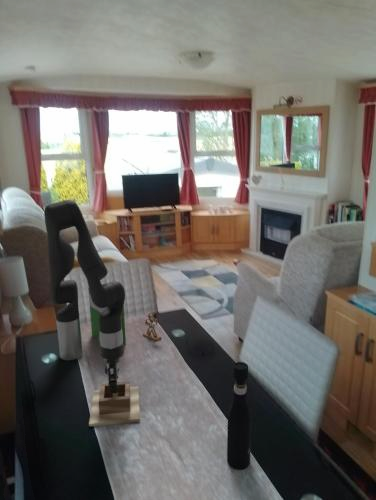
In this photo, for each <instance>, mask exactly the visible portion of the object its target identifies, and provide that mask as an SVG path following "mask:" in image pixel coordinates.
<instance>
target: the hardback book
mask: <svg viewBox="0 0 376 500" xmlns="http://www.w3.org/2000/svg"><path fill="white" fill-rule="evenodd" d="M101 284H102V285H103V284H104V283H101ZM87 289H88V299H89V300H88V301H89V312H90V323H91V326H90V327H91V336H92V337H94V338H95V339H96V340H97V341H99V342H100V339H99V334H100V328H99V315H100V314H101V313H102V312H103V311H104V310H105V309H106V308H107V307H105V308H99V307H97V306H96V305H95V304H94V303H93V301H92V299H91V295H90V290H89V287H88V288H87ZM125 322H126V321H125V305H124V306H123V310H122V314H121V325H122V333H123V345H126V344H127V341H126V323H125Z"/></svg>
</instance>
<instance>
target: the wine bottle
mask: <svg viewBox="0 0 376 500" xmlns="http://www.w3.org/2000/svg"><path fill="white" fill-rule="evenodd" d="M232 371H233V379H235V384H234V386H233V391H232V401H231V403H230V406H229V409H228V414H227V434H226V436H227V440H226V441H227V442H226V443H227V444H226V447H227V448H226V462H227V464H228V466H229V467H231V468H232V469H234V470H237V471H242V470H245V469H247V468H249V466H250V464H251V445H252V444H251V443H252V414H251V407H250V405H249V403H248V402H249V401H248V391H247V384H246V380H248V379H249V365H248V364H247V363H246V362H242V361H240V362H239V361H237V362H235V363H234V364H233V369H232Z"/></svg>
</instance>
